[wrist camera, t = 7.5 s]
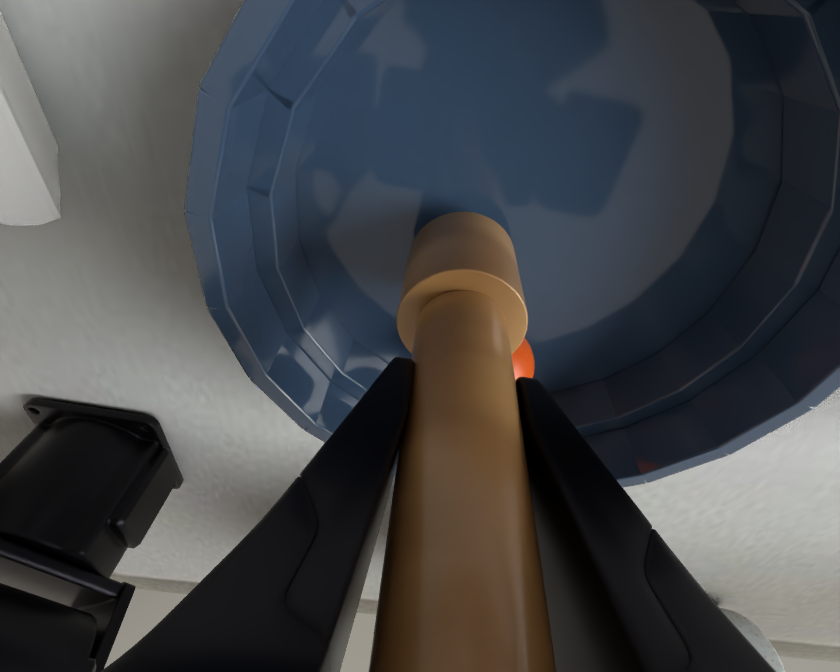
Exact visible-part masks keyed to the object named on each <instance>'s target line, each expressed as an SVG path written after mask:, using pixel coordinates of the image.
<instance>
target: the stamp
mask: <svg viewBox="0 0 840 672" xmlns="http://www.w3.org/2000/svg"><path fill="white" fill-rule="evenodd" d="M58 151H59V148H58V145H57V143H56V141H55V138H54V136H53V134H52V131H51V129H50V127H49V124H48V122H47V120H46V117H45V115H44V112H43V110H42V108H41V105H40V103H39V101H38V98H37V96H36V94H35V91H34V89H33V87H32V84H31V82H30V79H29V77H28V75H27V72H26V70H25V68H24V65H23V63H22V61H21V58H20V56H19V54H18V51H17V49H16V46H15V44H14V42H13V39H12V37H11V35H10V32H9V30H8V28H7V25H6V23H5V21H4V18H3V16H2V13H1V11H0V224H3V225H10V226H21V225H42V224H45V223H48V222H51V221H53V220H57V219H61V212H60V208H59V206H60V199H61V194H60V185H59V177H58V168H57V155H58Z"/></svg>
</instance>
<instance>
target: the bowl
mask: <svg viewBox="0 0 840 672" xmlns="http://www.w3.org/2000/svg"><path fill="white" fill-rule="evenodd" d="M184 210H185V219H186V223H187V227H188V231H189V236H190V240H191V244H192V248H193V253H194V257H195V261H196V265H197V270H198V274H199V278H200V283H201V287H202V291H203V295H204V300H205V304H206V306H207V307H208V308H207V309H208V311H209V313H210V314H211V316H212V318H213V319H214V321H215V323H216V324H217V326H218V328H219V329H220V331H221V333H222V334H223V336H224V338H225V339H226V341H227V342H228V344H229V346H230V347H231V349H232V351H233V352H234V354H235V356H236V357H237V359H238V361H239V362H240V364H241V366H242V367H243V369H244V371H245V372H246V374H247V376H248V377H249V378H250V379H251V381H252V382H253V383H254V384H256V385H257V386H258V387H259V388H260V389H261V390H262V391H263V392H264V393H265V394H266V395H267V396H268V397H269V398H270V399H271V400H272V401H273V402H275V403H276V404H277V405H278V406H279V407H280V408H281V409H282V410H283V411H284V412H285V413H286V414H287V415H288V416H289V417H290V418H291V419H292V420H294V421H295V422H296V423H297V424H298V425H299V426H300V427H301V428H302V429H304V430H305V431H306V432H308V433H310V434H311V435H313V436H315V437H317V438H318V439H320V440H322V441H324V442H326V441H327V440H328V439H329V437H330V436H331V435H332V434H333V432H334V431H335V430H336V429H337V428H338V426H339V425H340V424H341V423H342V421H343V420H344V419H345V418H346V416H347V415H348V414H349V413H350V411H351V410H352V409H353V408H354V406H355V405H356V404H357V403H358V401H359V400H360V399H361V398H362V396H363V395H364V394H365V393H366V391H367V390H368V389H369V388H370V386H371V385H372V384H373V383H374V382H375V380H376V379H377V378H378V377H379V375H380V374H381V373H382V372H383V370H384V369H385V368H386V367H387V365H388V364H389V363H390V362H391V360H392V359H393V358H394V357H402V358H409V359H411V358H412V354H411V353H410V352H409V350H408V349H407V348H406V347H405V345H404V344H403V342H402V340H401V338H400V336H399V333H398V329H397V322H396V321H397V311H398V306H399V301H400V297H401V292H402V287H403V282H404V277H405V272H406V267H407V262H408V257H409V252H410V248H411V245H412V242H413V240H414V238H415V237H416V235H417V234H418V232H419V231H420V230H421V229H422V228H423V227H424V226H425V225H426V224H428V223H429V222H430V221H432V220H434V219H435V218H437V217H440V216H442V215H445V214H449V213H454V212H473V213H477V214H481V215H484V216H486V217H488V218H490V219H492V220H494V221H495V222H497V223H498V224H499V225H500V226H501V227H502V228H503V229H504V230H505V231H506V232H507V234H508V235H509V237H510V239H511V241H512V244H513V246H514V251H515V256H516V261H517V265H518V270H519V275H520V280H521V284H522V289H523V294H524V299H525V304H526V308H527V313H528V326H527V331H526V334H525V339H526V340H527V341H528V343H529V345H530V347H531V349H532V352H533V356H534V362H535V368H534V375H533V378H534V379H537V380H539V381H540V382H541V384H542V385H543V386H544V387H545V389H546V390H547V391H548V393H549V394H550V395H551V396H552V398H553V399H554V400H555V402H556V403H557V404H558V405H559V407H560V408H561V409H562V411H563V412H564V413H565V414H566V416H567V417H568V418H569V420H570V421H571V422H572V423H573V425H574V426H575V427H576V429H577V430H578V431H579V432H580V434H581V435H582V436H583V438H584V439H585V440H586V441H587V443H588V444H589V445H590V447H591V448H592V449H593V450H594V452H595V453H596V454H597V456H598V457H599V458H600V459H601V461H602V462H603V463H604V465H605V466H606V467H607V468H608V470H609V471H610V472H611V474H612V475H613V476H614V477H615V479H616V480H617V481H618V483H619V484H620V485H621V487H628V486H634V485H639V484H645V483H646V482H647V483H649V482H652V481H655V480H658V479H661V478H664V477H667V476H669V475H672V474H675V473H678V472H681V471H684V470H687V469H690V468H693V467H696V466H699V465H702V464H704V463H707V462H710V461H713V460H716V459H719V458H722V457H725V456H727V455H728V454H729V455H730V454H732V453H734V452H736V451H738V450H740V449H742V448H743V447H745V446H747V445H749V444H751V443H752V442H754V441H756V440H758V439H760V438H762V437H763V436H765V435H767V434H769V433H771V432H773V431H774V430H776V429H778V428H780V427H782V426H784V425H785V424H787V423H789V422H791V421H793V420H795V419H796V418H798V417H800V416H802V415H804V414H806V413H807V412H809V411H811V410H813V409H814V407H817V406H818V405H819V404H821V403H822V402H823V401H824V400H825V399H827V398H828V397H829V396H830V395H831V394H833V393H834V392H835V391H836V390H837V389H839V388H840V0H243V2H242V4H241V5H240V7H239V9H238V11H237V13H236V15H235V17H234V19H233V21H232V23H231V25H230V26H229V28H228V30H227V32H226V34H225V36H224V38H223V40H222V42H221V44H220V45H219V47H218V49H217V51H216V53H215V55H214V57H213V59H212V61H211V63H210V65H209V66H208V68H207V70H206V72H205V74H204V76H203V78H202V80H201V82H200V88H199V89H198V94H197V103H196V111H195V120H194V128H193V137H192V145H191V154H190V162H189V171H188V180H187V188H186V197H185V205H184ZM396 468H397V467H396ZM395 476H396V471H395Z"/></svg>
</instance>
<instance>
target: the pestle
mask: <svg viewBox="0 0 840 672" xmlns="http://www.w3.org/2000/svg"><path fill="white" fill-rule="evenodd" d="M396 322H397V329H398V333H399V336H400V338H401V340H402V342H403V344H404V345H405V347H406V348H407V349H408V350H409V352H410V353H411V354H412V358H411V359H412V360H413V361H414V367H413V376H412V385H411V393H410V401H409V407H408V412H407V417H406V422H405V426H404V430H403V434H402V438H401V442H400V446H399V454H398V461H397V468H396V476H395V483H394V490H393V497H392V505H391V512H390V519H389V527H388V534H387V541H386V549H385V556H384V563H383V571H382V578H381V585H380V593H379V600H378V607H377V615H376V623H375V629H374V637H373V644H372V651H371V659H370V666H369V672H556V665H555V658H554V651H553V644H552V637H551V630H550V622H549V615H548V608H547V601H546V594H545V587H544V580H543V573H542V566H541V559H540V552H539V545H538V538H537V530H536V523H535V516H534V509H533V502H532V495H531V488H530V481H529V474H528V467H527V460H526V453H525V446H524V438H523V431H522V424H521V417H520V410H519V403H518V396H517V389H516V382H515V375H514V368H513V361H512V354H513V353H514V352H515V351H516V350H517V348H518V347H519V346H520V344H521V343H522V341H523V339H524V337H525V334H526V331H527V326H528V313H527V308H526V304H525V299H524V294H523V289H522V284H521V280H520V275H519V270H518V265H517V261H516V256H515V251H514V246H513V244H512V241H511V239H510V237H509V235H508V234H507V232H506V231H505V230H504V229H503V228H502V227H501V226H500V225H499V224H498V223H497V222H495V221H494V220H492V219H490V218H488V217H486V216H484V215H481V214H477V213H473V212H454V213H449V214H445V215H442V216H440V217H437V218H435V219H434V220H432V221H430V222H429V223H428V224H426V225H425V226H424V227H423V228H422V229H421V230H420V231H419V232H418V234H417V235H416V237H415V238H414V240H413V242H412V245H411V248H410V252H409V257H408V262H407V267H406V272H405V277H404V282H403V287H402V292H401V297H400V301H399V306H398V311H397V321H396Z"/></svg>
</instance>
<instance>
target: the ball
mask: <svg viewBox="0 0 840 672" xmlns="http://www.w3.org/2000/svg"><path fill="white" fill-rule="evenodd" d="M512 361H513V368H514V375H515V381H516V379H517V378H518V377H528V378H533V375H534V368H535V362H534V356H533V352H532V349H531V347H530V345H529V343H528V341H527V340H526V339H525V337H524V339H523V341H522V343H521V344H520V346H519V347H518V348H517V350H516V351H515V352H514V353H513V354H512Z"/></svg>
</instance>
